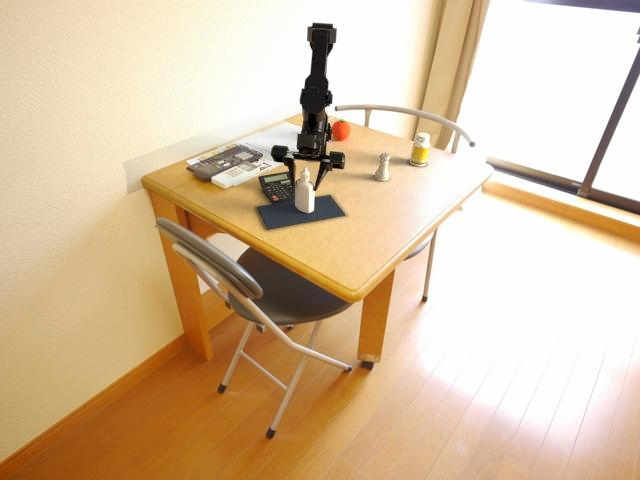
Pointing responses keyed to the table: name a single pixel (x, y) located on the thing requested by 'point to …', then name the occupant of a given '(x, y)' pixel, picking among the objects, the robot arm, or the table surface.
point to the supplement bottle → (420, 149)
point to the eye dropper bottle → (304, 192)
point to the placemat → (299, 212)
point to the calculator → (277, 187)
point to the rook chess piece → (383, 168)
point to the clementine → (340, 130)
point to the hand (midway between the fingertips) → (303, 189)
